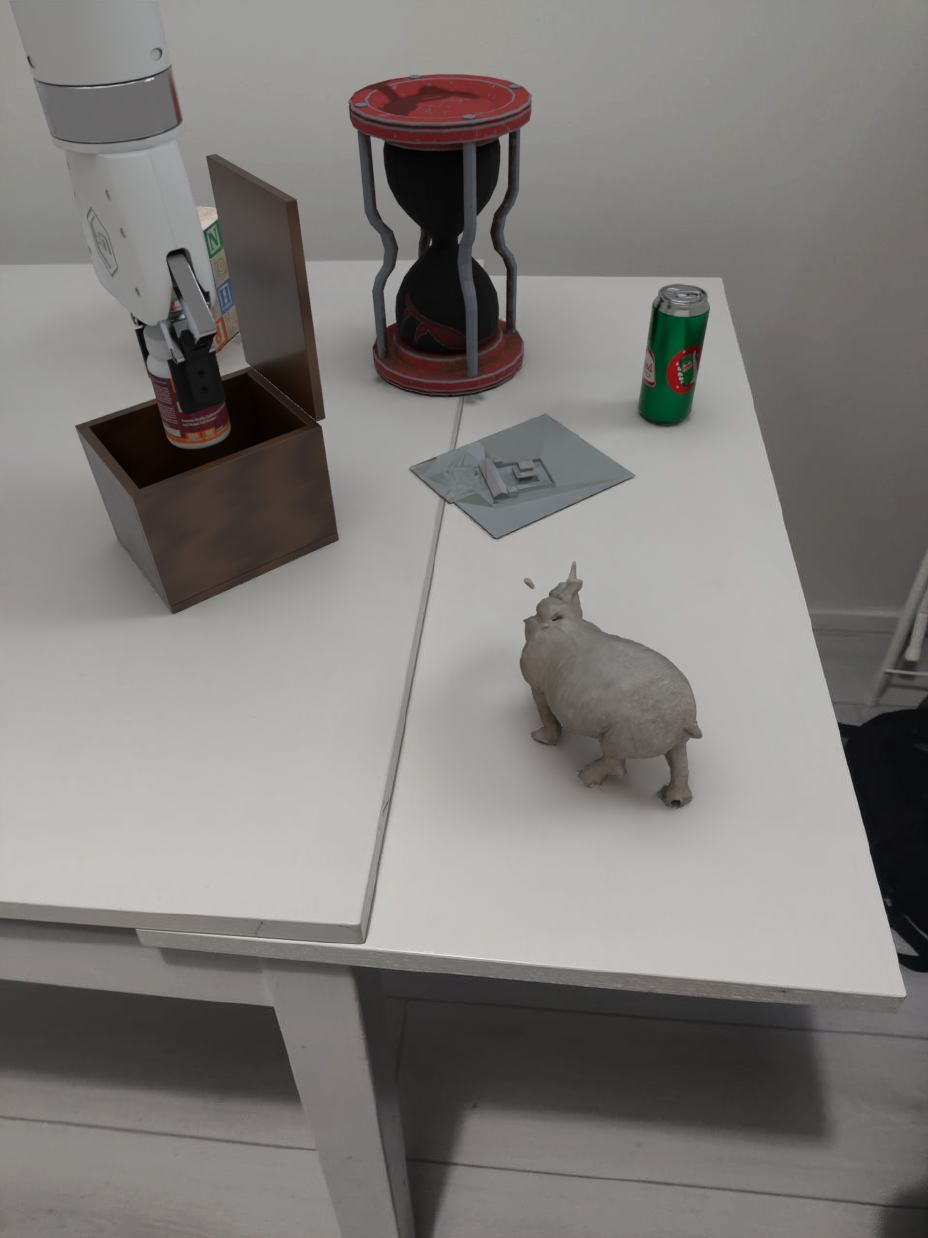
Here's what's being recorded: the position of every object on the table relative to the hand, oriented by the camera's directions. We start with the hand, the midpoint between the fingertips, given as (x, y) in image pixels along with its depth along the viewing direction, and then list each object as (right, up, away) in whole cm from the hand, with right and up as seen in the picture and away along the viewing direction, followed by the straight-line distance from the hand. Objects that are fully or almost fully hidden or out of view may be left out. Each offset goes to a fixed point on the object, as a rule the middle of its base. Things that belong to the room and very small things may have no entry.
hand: (186, 388), depth 63 cm
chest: (0, -10, +10) cm, 14 cm away
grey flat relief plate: (+22, -7, +13) cm, 27 cm away
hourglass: (+18, +11, +31) cm, 38 cm away
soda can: (+39, +3, +23) cm, 46 cm away
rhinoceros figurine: (+28, -24, -5) cm, 37 cm away
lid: (+6, +7, -1) cm, 9 cm away
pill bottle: (0, -3, +3) cm, 4 cm away
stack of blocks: (-8, +18, +39) cm, 43 cm away
